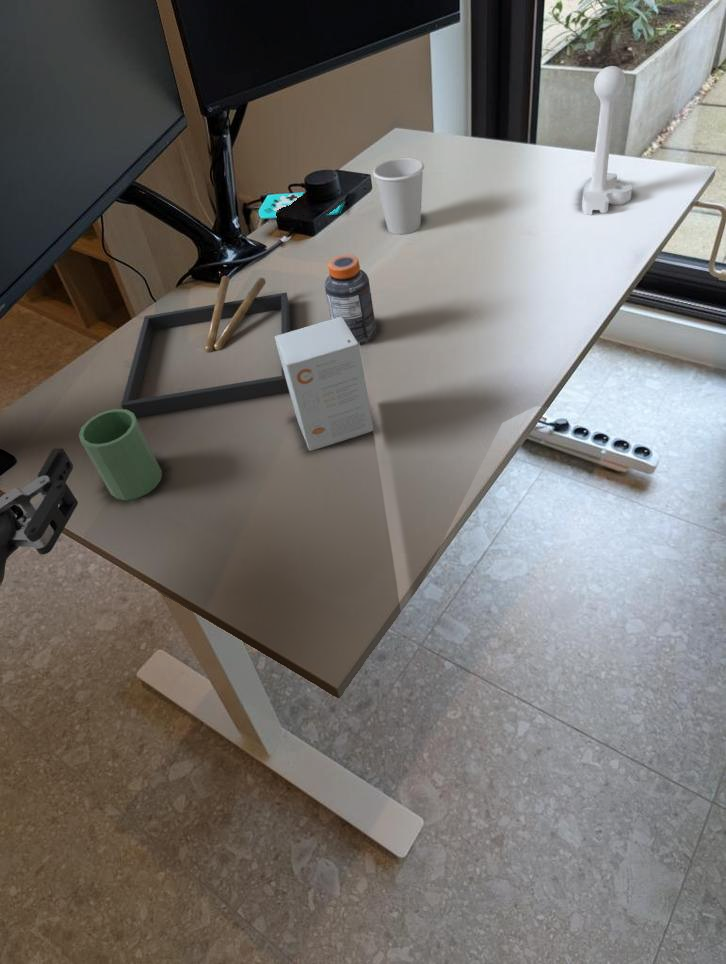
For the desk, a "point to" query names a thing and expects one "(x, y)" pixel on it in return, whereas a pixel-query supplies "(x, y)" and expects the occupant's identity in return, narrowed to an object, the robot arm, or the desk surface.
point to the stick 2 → (239, 314)
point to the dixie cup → (400, 193)
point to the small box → (326, 382)
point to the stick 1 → (217, 314)
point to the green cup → (121, 453)
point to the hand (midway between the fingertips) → (19, 456)
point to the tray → (207, 394)
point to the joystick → (605, 148)
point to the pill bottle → (351, 297)
